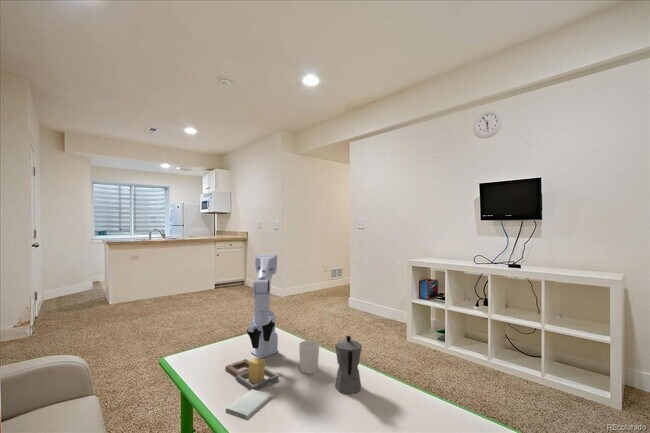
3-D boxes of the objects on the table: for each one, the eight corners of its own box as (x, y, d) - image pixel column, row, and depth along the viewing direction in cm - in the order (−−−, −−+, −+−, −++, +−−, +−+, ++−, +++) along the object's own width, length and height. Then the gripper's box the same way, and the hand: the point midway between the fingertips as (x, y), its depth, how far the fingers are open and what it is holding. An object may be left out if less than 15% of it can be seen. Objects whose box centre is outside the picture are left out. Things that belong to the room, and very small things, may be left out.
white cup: (295, 372, 120) (295, 346, 121) (304, 363, 128) (304, 339, 128) (314, 376, 118) (314, 349, 118) (322, 367, 125) (322, 342, 125)
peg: (255, 376, 117) (255, 357, 117) (264, 378, 115) (264, 359, 115) (248, 381, 113) (249, 361, 113) (257, 383, 112) (258, 364, 112)
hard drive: (246, 415, 92) (271, 394, 103) (225, 408, 95) (251, 388, 106) (246, 421, 92) (271, 399, 103) (225, 413, 95) (251, 393, 106)
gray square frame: (261, 369, 122) (261, 365, 122) (278, 379, 114) (278, 375, 114) (235, 379, 114) (235, 375, 114) (252, 391, 106) (252, 387, 106)
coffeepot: (334, 377, 116) (334, 329, 117) (359, 378, 116) (360, 329, 117) (335, 401, 101) (335, 345, 101) (364, 402, 101) (364, 346, 101)
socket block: (245, 362, 128) (245, 359, 128) (258, 370, 122) (258, 366, 122) (225, 370, 121) (225, 366, 121) (237, 378, 115) (237, 374, 115)
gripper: (263, 304, 132) (263, 336, 131) (241, 313, 118) (241, 349, 118) (278, 306, 129) (277, 339, 129) (257, 316, 115) (256, 352, 115)
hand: (261, 344), depth 123 cm, fingers open, 7 cm apart
